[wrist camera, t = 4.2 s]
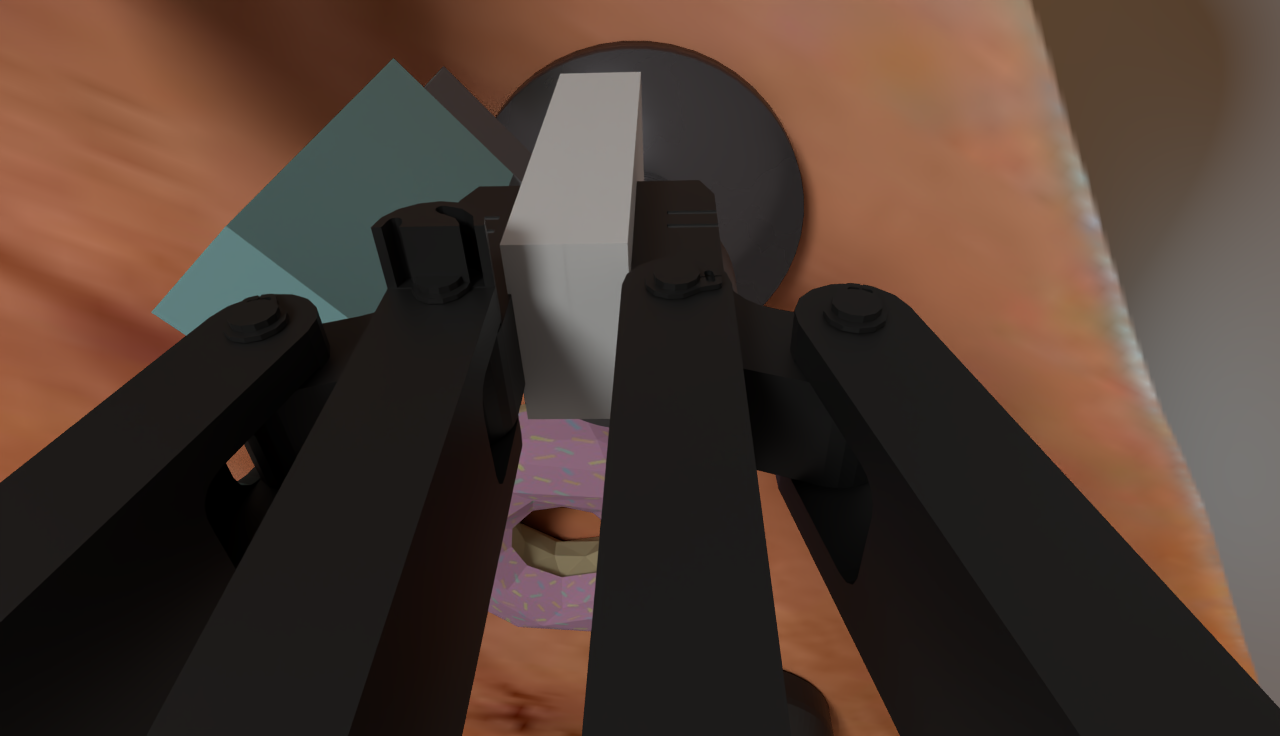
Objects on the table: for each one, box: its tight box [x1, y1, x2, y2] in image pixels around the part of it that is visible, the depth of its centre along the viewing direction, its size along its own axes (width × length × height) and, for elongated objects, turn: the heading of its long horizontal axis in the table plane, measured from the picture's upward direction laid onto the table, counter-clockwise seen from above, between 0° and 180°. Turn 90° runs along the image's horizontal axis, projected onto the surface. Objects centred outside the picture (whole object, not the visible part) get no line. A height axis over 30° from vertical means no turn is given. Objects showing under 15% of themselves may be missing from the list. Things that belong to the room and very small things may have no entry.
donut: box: [488, 404, 609, 631], centre depth 39 cm, size 16×15×5 cm
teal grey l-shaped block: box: [152, 58, 738, 427], centre depth 20 cm, size 14×7×12 cm, turn 42°
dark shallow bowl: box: [496, 41, 804, 306], centre depth 29 cm, size 13×16×6 cm
